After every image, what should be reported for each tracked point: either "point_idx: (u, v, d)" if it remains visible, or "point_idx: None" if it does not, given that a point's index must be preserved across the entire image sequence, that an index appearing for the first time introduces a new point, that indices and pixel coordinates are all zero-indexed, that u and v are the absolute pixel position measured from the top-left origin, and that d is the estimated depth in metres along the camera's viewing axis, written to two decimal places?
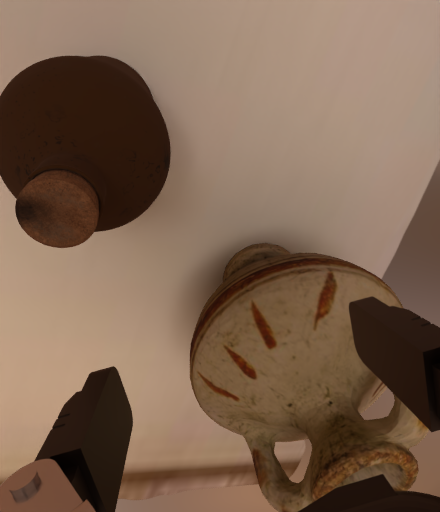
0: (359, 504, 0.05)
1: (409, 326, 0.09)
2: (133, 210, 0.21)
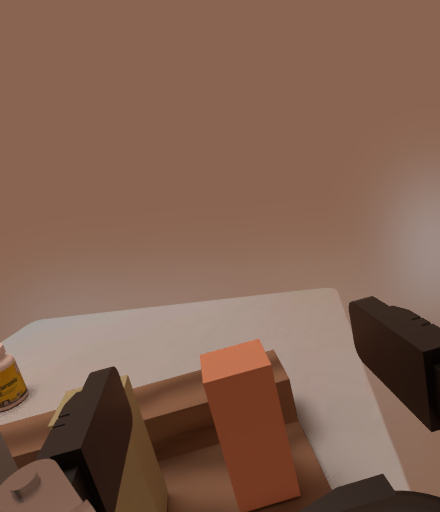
0: (359, 504, 0.05)
1: (409, 326, 0.09)
2: None
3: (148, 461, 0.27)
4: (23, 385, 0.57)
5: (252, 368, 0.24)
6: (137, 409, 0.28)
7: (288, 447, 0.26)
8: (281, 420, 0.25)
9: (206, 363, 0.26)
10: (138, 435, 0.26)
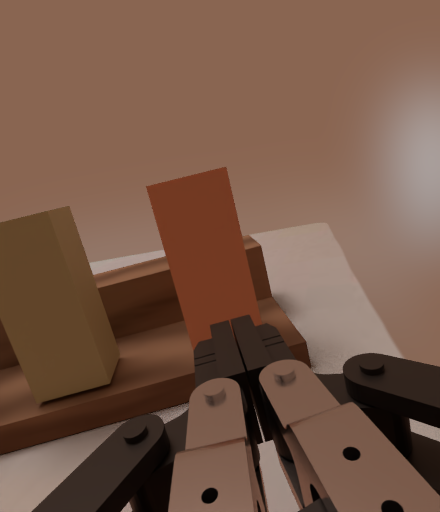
0: None
1: (255, 345, 0.10)
2: None
3: (91, 301, 0.24)
4: None
5: (204, 172, 0.21)
6: (80, 246, 0.24)
7: (249, 277, 0.23)
8: (240, 241, 0.22)
9: None
10: (78, 266, 0.23)
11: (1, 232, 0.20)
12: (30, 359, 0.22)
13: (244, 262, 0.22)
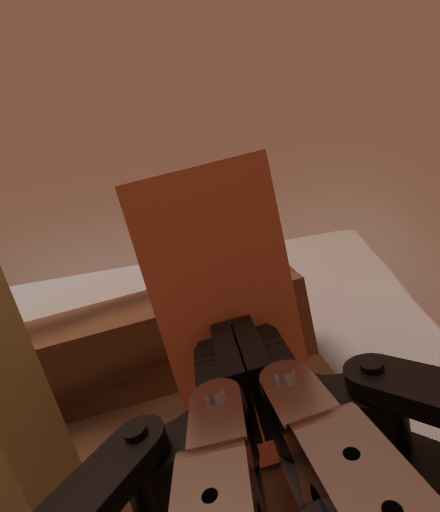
0: None
1: (255, 345, 0.10)
2: None
3: (19, 395, 0.13)
4: None
5: (224, 159, 0.11)
6: (3, 293, 0.14)
7: (302, 346, 0.13)
8: (288, 285, 0.12)
9: None
10: None
11: None
12: None
13: (294, 321, 0.13)
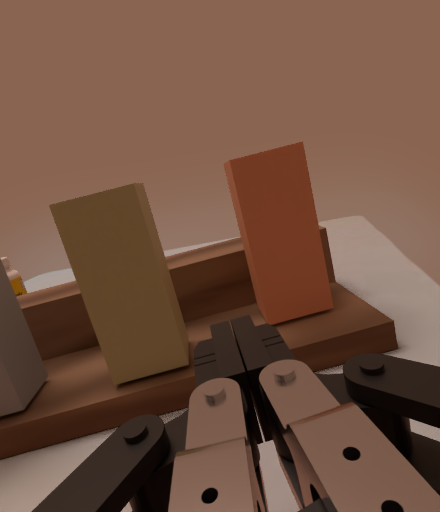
0: None
1: (255, 345, 0.10)
2: None
3: (167, 280, 0.23)
4: None
5: None
6: (154, 225, 0.24)
7: (320, 246, 0.24)
8: (313, 212, 0.24)
9: None
10: (156, 243, 0.22)
11: (87, 205, 0.20)
12: (110, 338, 0.22)
13: (316, 232, 0.24)
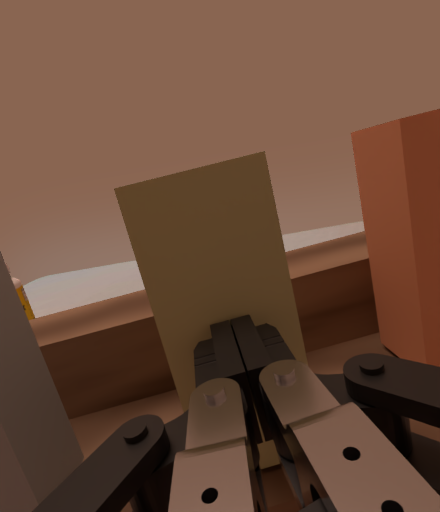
0: None
1: (255, 345, 0.10)
2: None
3: None
4: (32, 317, 0.44)
5: None
6: None
7: None
8: None
9: None
10: None
11: (181, 190, 0.11)
12: None
13: None
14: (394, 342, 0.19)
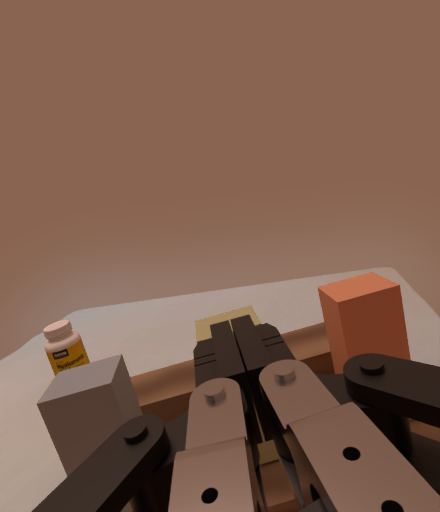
0: None
1: (255, 345, 0.10)
2: None
3: None
4: (88, 362, 0.56)
5: (381, 289, 0.26)
6: None
7: None
8: (405, 340, 0.27)
9: (330, 291, 0.28)
10: None
11: None
12: None
13: (407, 356, 0.27)
14: None
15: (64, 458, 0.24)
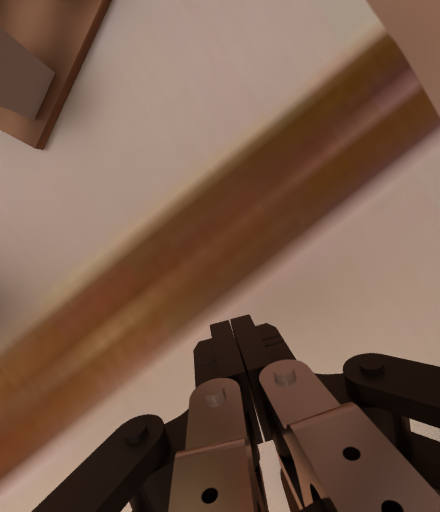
0: None
1: (255, 345, 0.10)
2: None
3: None
4: None
5: None
6: None
7: None
8: None
9: None
10: None
11: None
12: None
13: None
14: None
15: None
